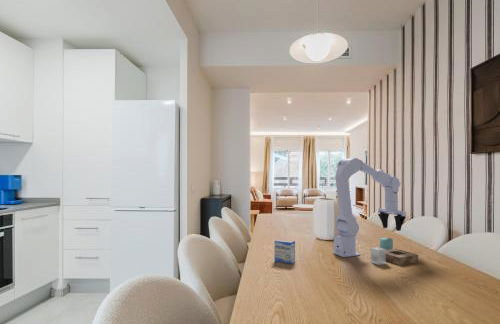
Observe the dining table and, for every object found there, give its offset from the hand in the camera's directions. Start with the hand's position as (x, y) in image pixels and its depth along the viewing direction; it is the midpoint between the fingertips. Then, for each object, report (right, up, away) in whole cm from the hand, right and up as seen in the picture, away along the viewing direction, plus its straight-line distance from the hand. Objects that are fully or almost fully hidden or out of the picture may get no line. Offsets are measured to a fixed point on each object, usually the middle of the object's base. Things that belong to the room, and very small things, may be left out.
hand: (391, 229), depth 144 cm
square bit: (-16, -9, -22) cm, 29 cm away
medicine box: (-54, -9, -19) cm, 59 cm away
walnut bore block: (-6, -9, -18) cm, 21 cm away
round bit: (-4, -10, -4) cm, 11 cm away
